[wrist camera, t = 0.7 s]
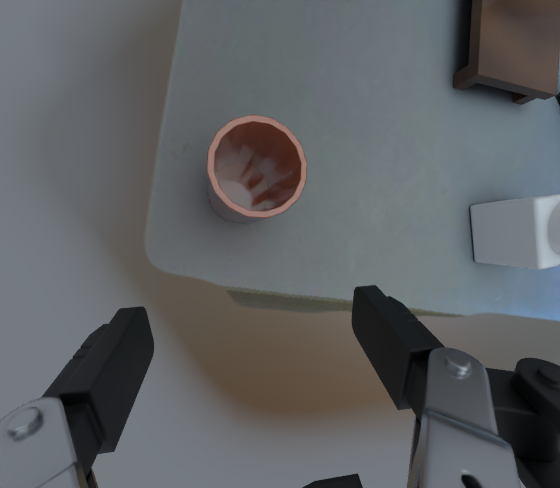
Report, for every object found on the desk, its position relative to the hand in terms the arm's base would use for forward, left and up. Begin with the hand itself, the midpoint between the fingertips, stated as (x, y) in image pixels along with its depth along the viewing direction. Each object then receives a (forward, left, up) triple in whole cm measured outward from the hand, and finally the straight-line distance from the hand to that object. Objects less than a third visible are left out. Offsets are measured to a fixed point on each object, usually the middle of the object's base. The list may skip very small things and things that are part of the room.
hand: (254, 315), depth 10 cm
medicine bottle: (-5, +33, -16) cm, 37 cm away
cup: (-7, +1, -16) cm, 17 cm away
